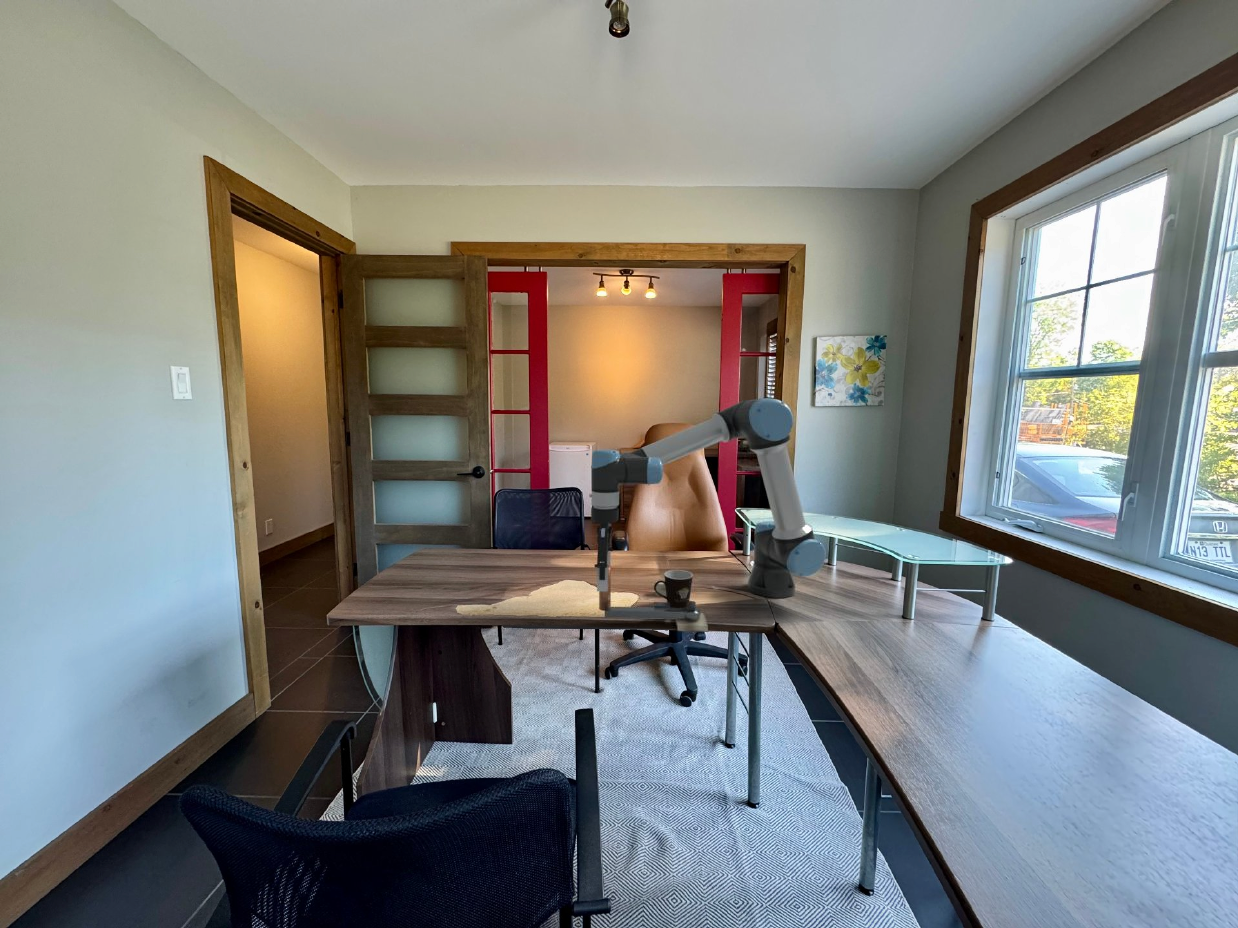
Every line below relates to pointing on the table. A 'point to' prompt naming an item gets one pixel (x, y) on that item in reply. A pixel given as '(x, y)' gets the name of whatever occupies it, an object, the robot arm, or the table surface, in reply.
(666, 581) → the coffee mug
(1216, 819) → the table surface
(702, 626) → the pivot pedestal
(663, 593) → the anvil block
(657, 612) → the lever
